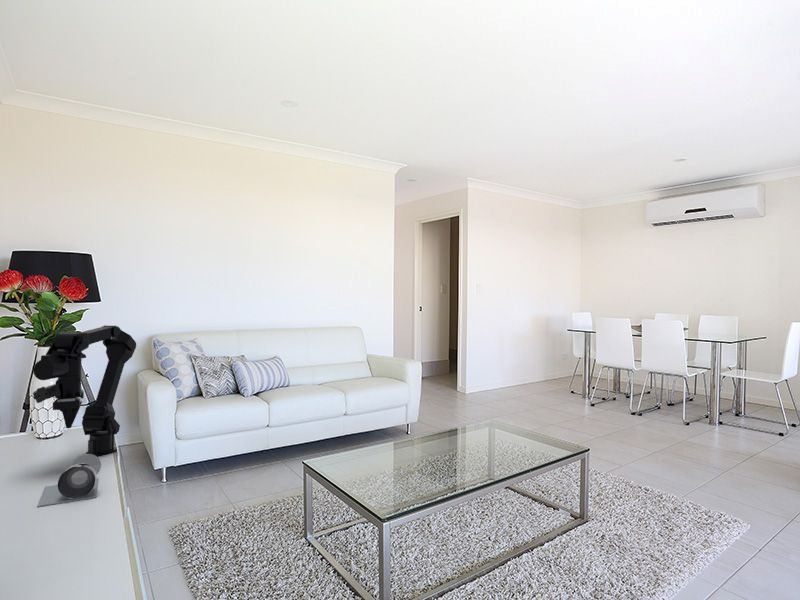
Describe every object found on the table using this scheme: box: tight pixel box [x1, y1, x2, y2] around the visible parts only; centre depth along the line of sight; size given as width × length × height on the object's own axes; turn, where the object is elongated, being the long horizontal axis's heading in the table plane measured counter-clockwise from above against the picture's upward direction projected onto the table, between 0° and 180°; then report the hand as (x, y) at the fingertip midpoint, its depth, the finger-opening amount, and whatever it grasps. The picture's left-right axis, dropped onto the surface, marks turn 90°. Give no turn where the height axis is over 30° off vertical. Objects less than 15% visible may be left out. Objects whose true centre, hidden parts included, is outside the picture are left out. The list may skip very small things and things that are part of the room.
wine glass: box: [57, 453, 102, 499], centre depth 126 cm, size 8×8×15 cm
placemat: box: [36, 478, 99, 508], centre depth 124 cm, size 14×12×1 cm
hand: (68, 427), depth 141 cm, fingers closed
